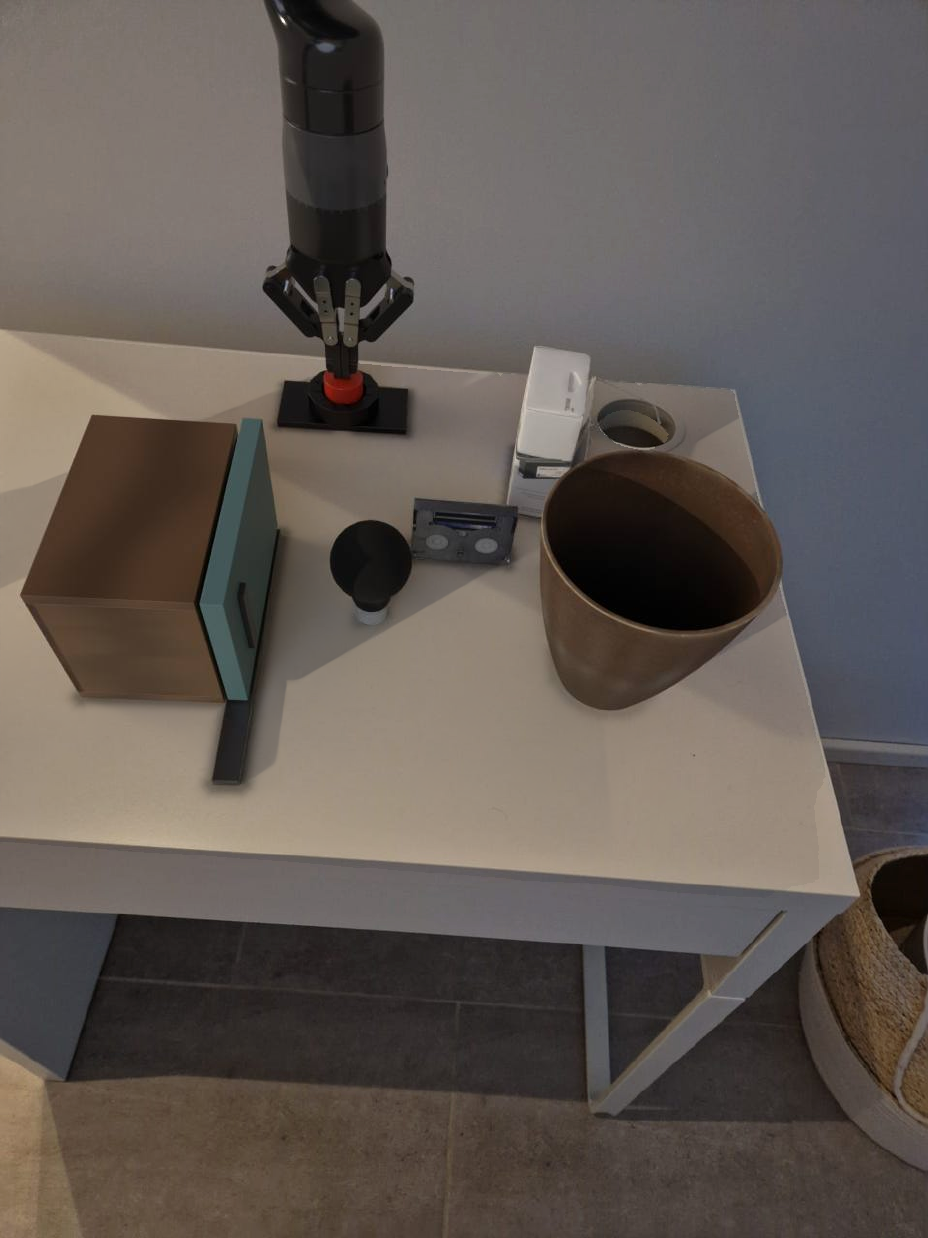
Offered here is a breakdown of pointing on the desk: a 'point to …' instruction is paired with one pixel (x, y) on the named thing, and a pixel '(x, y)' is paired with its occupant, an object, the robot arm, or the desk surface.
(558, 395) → the ink box
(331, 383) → the button
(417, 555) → the mini dv tape
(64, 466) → the desk surface
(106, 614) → the cabinet
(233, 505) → the door
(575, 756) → the desk surface
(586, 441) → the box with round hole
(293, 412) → the button box
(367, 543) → the light bulb
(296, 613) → the desk surface
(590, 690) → the plant pot
